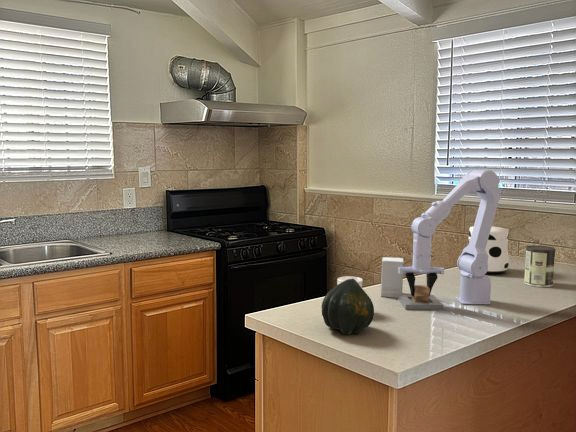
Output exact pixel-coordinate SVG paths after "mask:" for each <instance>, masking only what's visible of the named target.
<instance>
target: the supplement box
mask: <svg viewBox="0 0 576 432" xmlns="http://www.w3.org/2000/svg"><path fill="white" fill-rule="evenodd" d="M404 263H405V262H404V257H390V256H388V257H386V256H383V257H382V260H381V274H380V275H381V278H380V279H381V281H380V297H384V298H397V299H398V295H403V284H404V283H403V282H404V274H399V273H398V267H405V266H404Z"/></svg>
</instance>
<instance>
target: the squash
mask: <svg viewBox="0 0 576 432" xmlns="http://www.w3.org/2000/svg"><path fill="white" fill-rule="evenodd" d="M374 315H375V307H374V304H373V301H372V299H371V297H370V296H369V294H367V292H366V291H365V290H364V289H363V287H362V288H361V286H360V285H359V284H358V283H357V281H356V280H354V279H353V278H352V279H348V280H345V281H344V282H342V283H340V284H338V285H336V286H334V287H333V288H331V289H330V290H329V291H328V292H327V293H326V295H325V296H324V297H323V300H322V302H321V316H322V318H323V323H324V324H325V325H326V326H327V327H328V328H330V329H335V330H340V332H341V333H343V334H344V335H347V336H348V335H350V334H351V333H354V334H358V333H361V332H363V331H364V330H365V329H366V328H368V327H369V326H370V325H371V323H372V322H373V320H374Z"/></svg>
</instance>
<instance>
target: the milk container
mask: <svg viewBox="0 0 576 432" xmlns="http://www.w3.org/2000/svg"><path fill="white" fill-rule="evenodd" d="M473 227H474V225H473V226H470V227H469V231H468V241H467V242H468V245H469V242H470V238H471V234H472V231H473ZM509 233H510V232H509V229H508V228H504V227H500V226H494V225H492V227H491V231H490V234H489V238H488V241H487V245H486V249H485V250H486V252H487V254H488V256H489V257H488V270H487V272H486V274H500V273H505V272H506V271H508V269H509V266H510V255H509V251H508V249H509V237H510V234H509ZM468 245H467V246H468Z"/></svg>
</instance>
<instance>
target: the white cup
mask: <svg viewBox="0 0 576 432" xmlns="http://www.w3.org/2000/svg"><path fill="white" fill-rule="evenodd" d="M352 278H353V279H354V280H356V281H357V283H358V284H359V285H360V286H361V288H362V289H363V280H364V279H363V278H362V277H358V276H351V275H350V276H349V275H348V276H347V275H346V276H340V277H337V279H336V280H337V281H336V282H337V285H338V284H340V283H342V282H344V281H345V280H348V279H352ZM337 285H336V286H337Z"/></svg>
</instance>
